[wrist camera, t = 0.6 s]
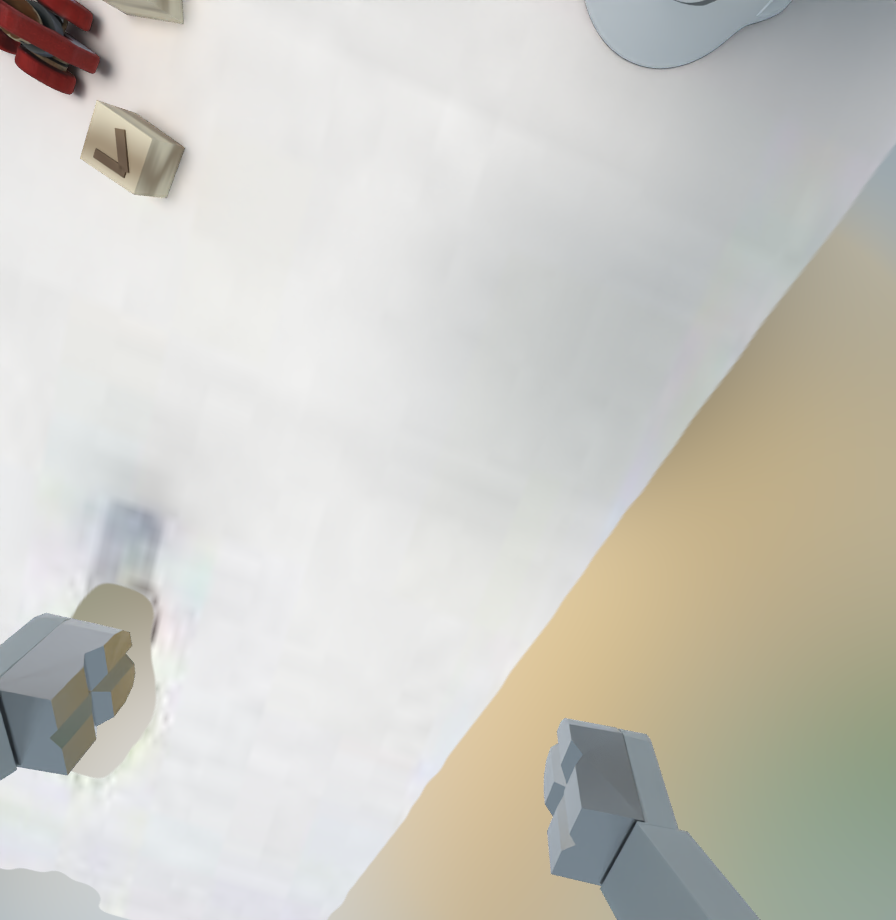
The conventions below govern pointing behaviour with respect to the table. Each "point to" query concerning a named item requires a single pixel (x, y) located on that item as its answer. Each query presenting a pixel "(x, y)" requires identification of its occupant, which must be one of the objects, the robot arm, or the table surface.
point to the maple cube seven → (131, 151)
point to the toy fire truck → (47, 39)
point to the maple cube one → (151, 9)
